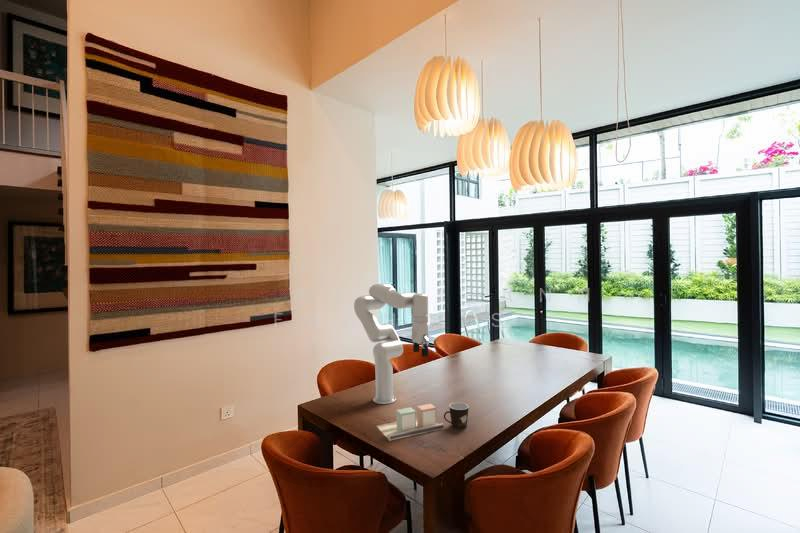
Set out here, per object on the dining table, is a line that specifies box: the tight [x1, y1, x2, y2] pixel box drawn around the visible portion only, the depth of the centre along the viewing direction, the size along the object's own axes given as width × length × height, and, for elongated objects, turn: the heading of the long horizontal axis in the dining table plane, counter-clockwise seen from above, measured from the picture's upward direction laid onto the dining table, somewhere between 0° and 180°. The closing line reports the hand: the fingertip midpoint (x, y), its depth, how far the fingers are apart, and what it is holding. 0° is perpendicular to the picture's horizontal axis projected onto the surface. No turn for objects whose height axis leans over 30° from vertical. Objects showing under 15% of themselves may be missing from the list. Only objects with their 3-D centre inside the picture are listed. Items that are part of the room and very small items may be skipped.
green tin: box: [396, 406, 417, 432], centre depth 164 cm, size 7×5×9 cm
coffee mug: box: [443, 402, 470, 430], centre depth 168 cm, size 12×9×10 cm
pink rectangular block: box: [416, 403, 437, 428], centre depth 168 cm, size 7×5×9 cm
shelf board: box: [376, 417, 445, 442], centre depth 168 cm, size 16×26×3 cm, turn 113°
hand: (420, 354), depth 184 cm, fingers open, 9 cm apart
